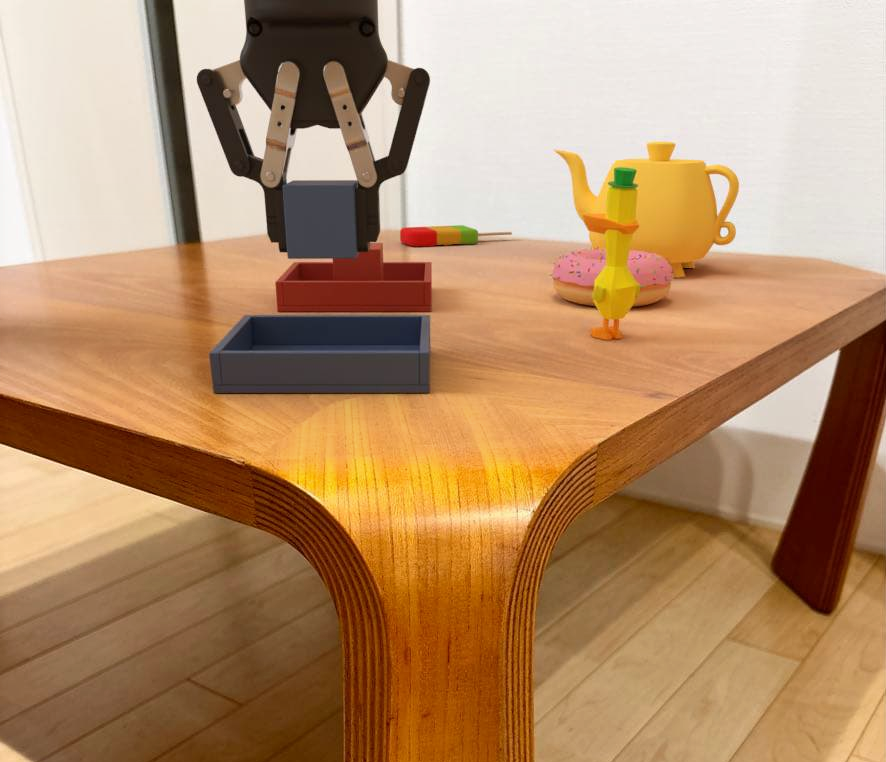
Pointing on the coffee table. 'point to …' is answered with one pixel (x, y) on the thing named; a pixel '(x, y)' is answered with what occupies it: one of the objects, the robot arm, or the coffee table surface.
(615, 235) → the toy figure
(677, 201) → the teapot
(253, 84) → the robot arm
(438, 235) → the popsicle
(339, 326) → the blue tray
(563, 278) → the doughnut
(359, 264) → the red block
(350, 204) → the blue block
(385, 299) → the red tray
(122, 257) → the coffee table surface
